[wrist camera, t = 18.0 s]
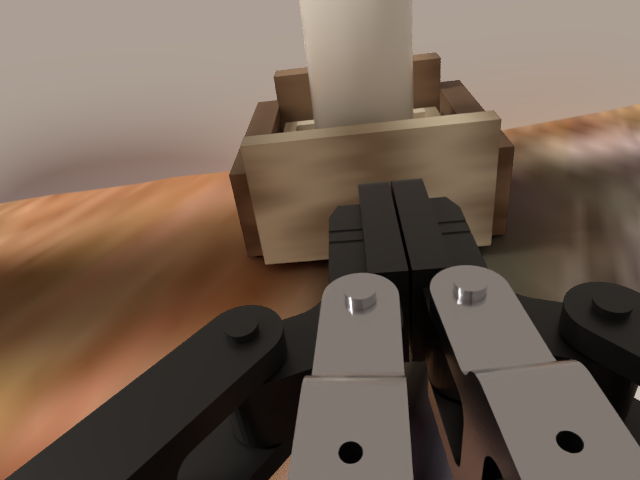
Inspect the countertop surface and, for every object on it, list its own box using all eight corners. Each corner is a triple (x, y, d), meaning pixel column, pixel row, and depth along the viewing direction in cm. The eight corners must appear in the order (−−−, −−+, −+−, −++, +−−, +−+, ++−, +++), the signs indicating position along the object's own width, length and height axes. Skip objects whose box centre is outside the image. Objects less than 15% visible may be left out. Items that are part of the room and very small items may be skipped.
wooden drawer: (265, 264, 26) (240, 146, 22) (282, 173, 35) (266, 80, 32) (490, 245, 25) (501, 119, 22) (446, 157, 34) (449, 59, 31)
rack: (248, 256, 27) (220, 137, 24) (270, 167, 38) (252, 73, 34) (505, 234, 26) (518, 105, 23) (456, 148, 37) (460, 49, 33)
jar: (317, 208, 27) (270, -141, 19) (319, 164, 32) (283, -128, 24) (425, 198, 26) (425, -164, 18) (410, 155, 31) (405, -146, 23)
